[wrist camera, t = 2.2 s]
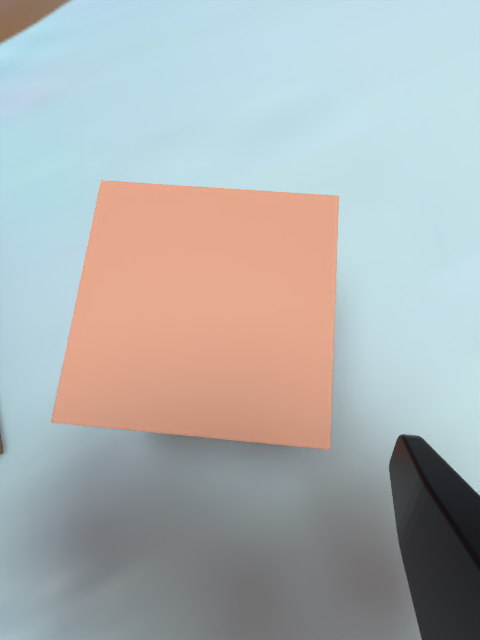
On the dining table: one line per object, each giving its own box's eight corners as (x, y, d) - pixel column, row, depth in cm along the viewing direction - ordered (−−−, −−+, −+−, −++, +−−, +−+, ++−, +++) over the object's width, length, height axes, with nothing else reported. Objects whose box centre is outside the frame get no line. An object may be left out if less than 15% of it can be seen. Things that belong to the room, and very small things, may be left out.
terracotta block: (294, 442, 19) (330, 449, 10) (142, 427, 19) (51, 422, 10) (302, 296, 21) (338, 195, 12) (164, 285, 21) (101, 180, 12)
